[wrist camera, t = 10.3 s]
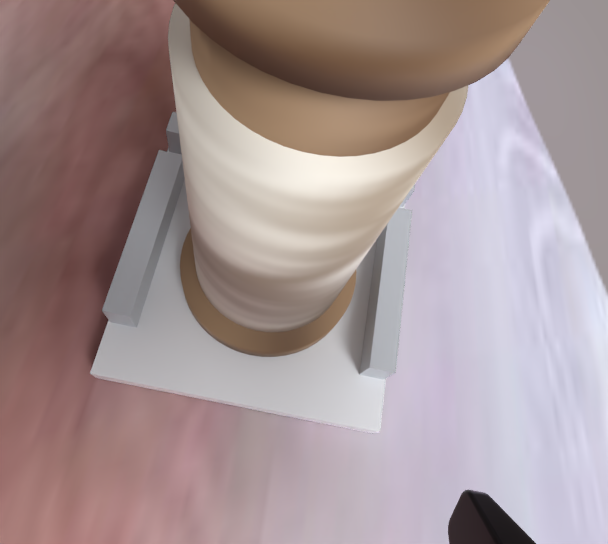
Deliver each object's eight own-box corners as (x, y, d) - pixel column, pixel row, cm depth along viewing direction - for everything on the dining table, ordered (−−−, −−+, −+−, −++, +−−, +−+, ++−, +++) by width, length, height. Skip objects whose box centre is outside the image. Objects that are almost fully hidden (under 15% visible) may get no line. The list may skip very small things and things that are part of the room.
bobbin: (209, 381, 18) (178, 129, 5) (162, 220, 20) (43, -283, 7) (375, 326, 20) (704, 28, 6) (316, 184, 22) (470, -270, 9)
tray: (372, 433, 20) (392, 429, 17) (96, 378, 19) (78, 365, 16) (399, 200, 24) (418, 172, 22) (175, 146, 23) (170, 111, 21)
